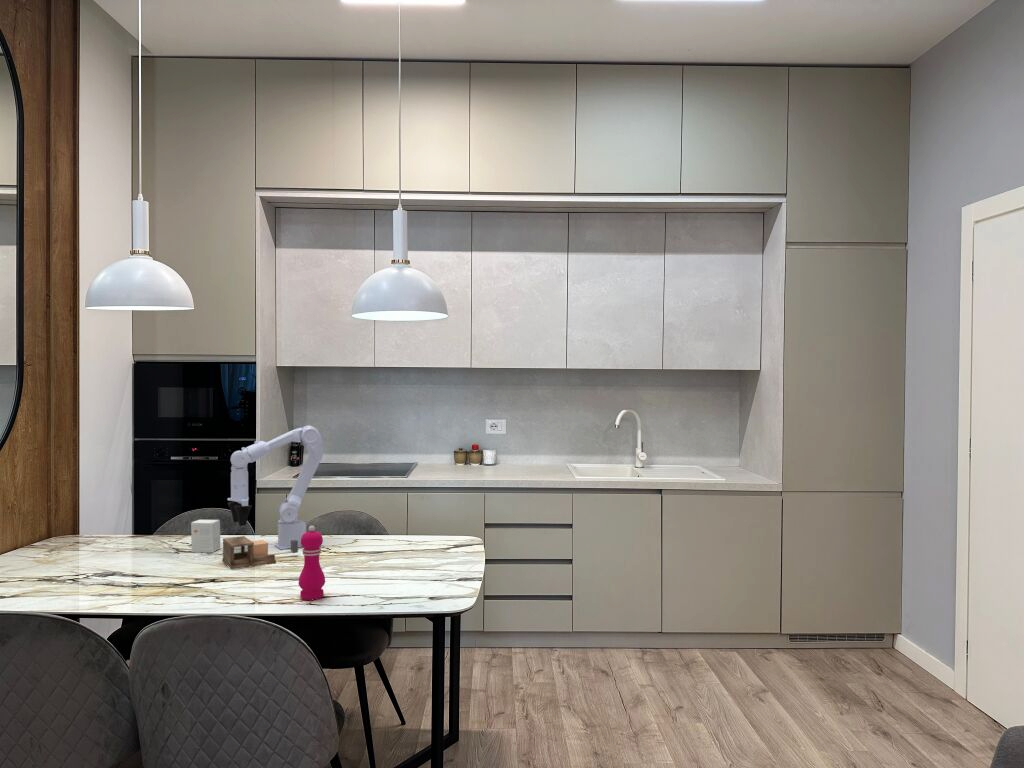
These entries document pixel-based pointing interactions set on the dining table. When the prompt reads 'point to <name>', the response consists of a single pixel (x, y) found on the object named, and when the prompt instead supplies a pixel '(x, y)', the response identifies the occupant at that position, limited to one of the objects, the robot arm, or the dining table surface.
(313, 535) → the pepper mill
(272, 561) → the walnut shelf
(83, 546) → the dining table surface
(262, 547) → the tan piece
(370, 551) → the dining table surface
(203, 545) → the small box
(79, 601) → the dining table surface
